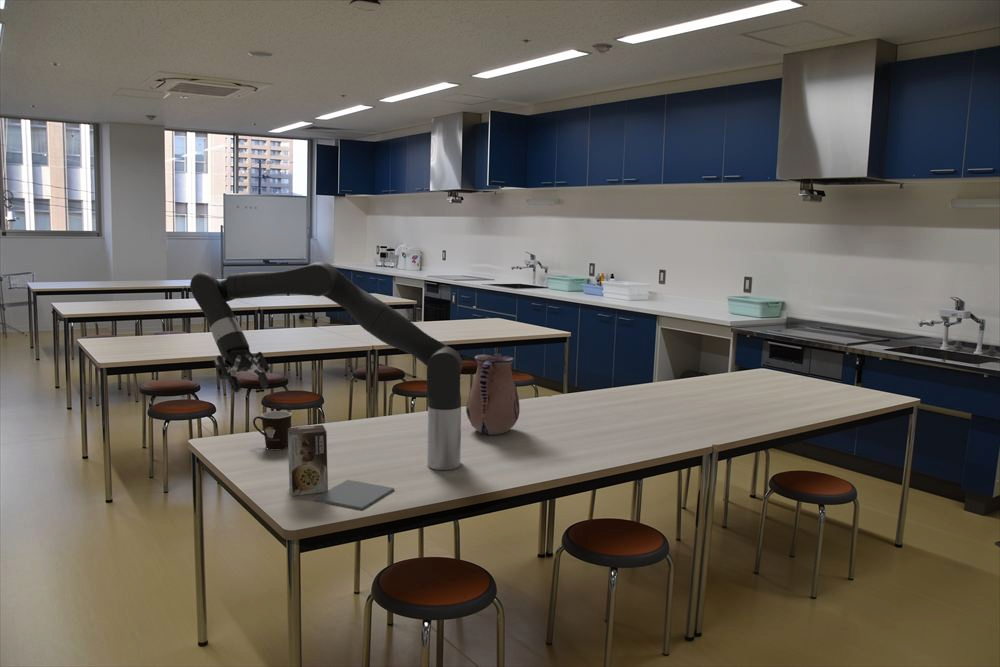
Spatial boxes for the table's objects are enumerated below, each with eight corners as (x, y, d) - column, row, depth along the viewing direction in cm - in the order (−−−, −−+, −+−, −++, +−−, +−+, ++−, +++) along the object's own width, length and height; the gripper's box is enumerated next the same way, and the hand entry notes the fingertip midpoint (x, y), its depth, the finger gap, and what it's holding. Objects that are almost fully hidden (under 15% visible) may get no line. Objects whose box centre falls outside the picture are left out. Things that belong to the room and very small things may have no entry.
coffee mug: (297, 447, 234) (297, 414, 233) (272, 453, 228) (271, 419, 226) (276, 439, 242) (275, 407, 240) (251, 444, 236) (250, 412, 234)
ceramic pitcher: (520, 425, 264) (522, 352, 260) (515, 443, 243) (517, 364, 239) (469, 423, 266) (470, 350, 262) (460, 440, 245) (461, 362, 241)
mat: (347, 482, 205) (347, 479, 205) (394, 490, 200) (394, 487, 200) (313, 500, 191) (313, 498, 191) (362, 509, 186) (362, 507, 186)
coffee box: (324, 484, 203) (323, 424, 200) (328, 492, 197) (327, 430, 194) (288, 488, 200) (287, 426, 197) (291, 496, 194) (290, 433, 191)
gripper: (212, 331, 203) (235, 384, 199) (258, 328, 215) (281, 378, 210) (199, 347, 207) (222, 399, 203) (245, 343, 219) (267, 392, 214)
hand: (252, 388), depth 206 cm, fingers open, 8 cm apart
